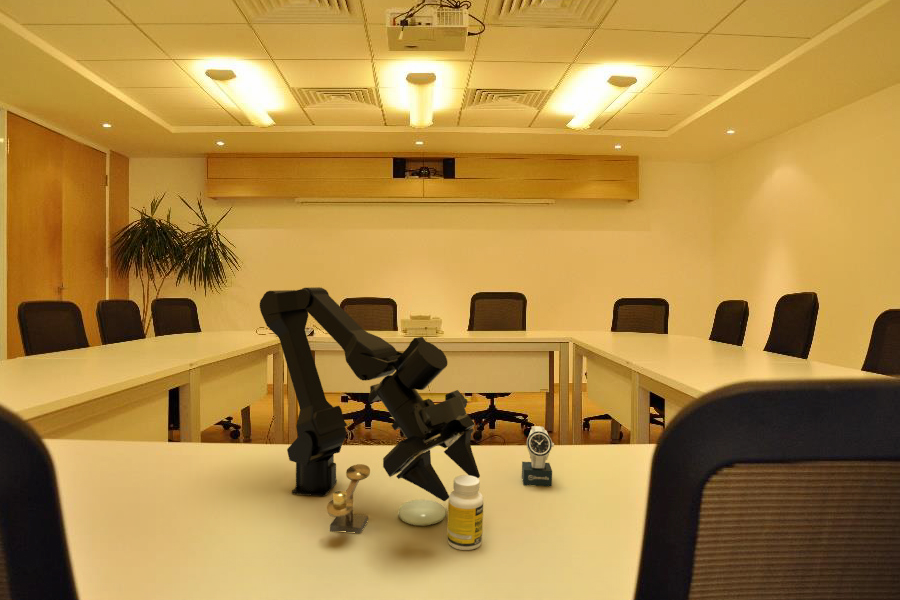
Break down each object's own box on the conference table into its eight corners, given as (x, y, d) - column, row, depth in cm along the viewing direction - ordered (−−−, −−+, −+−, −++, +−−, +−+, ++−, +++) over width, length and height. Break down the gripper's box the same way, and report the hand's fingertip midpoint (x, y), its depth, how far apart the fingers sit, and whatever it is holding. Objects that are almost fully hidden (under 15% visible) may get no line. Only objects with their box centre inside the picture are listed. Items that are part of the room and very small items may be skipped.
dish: (393, 525, 82) (393, 519, 82) (404, 503, 90) (404, 497, 90) (441, 529, 81) (442, 523, 81) (448, 507, 89) (448, 501, 89)
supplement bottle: (479, 553, 75) (481, 489, 74) (443, 549, 76) (445, 485, 75) (484, 535, 80) (486, 474, 80) (450, 531, 81) (452, 471, 81)
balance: (319, 546, 76) (319, 494, 75) (347, 506, 89) (347, 463, 88) (351, 549, 75) (352, 497, 75) (375, 509, 88) (375, 465, 87)
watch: (524, 489, 97) (526, 433, 97) (521, 473, 105) (522, 421, 105) (553, 490, 97) (555, 434, 96) (548, 474, 105) (549, 422, 104)
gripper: (399, 387, 72) (464, 481, 67) (465, 368, 88) (523, 442, 82) (357, 432, 76) (415, 523, 71) (428, 405, 92) (480, 478, 87)
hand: (463, 488), depth 78 cm, fingers open, 9 cm apart
